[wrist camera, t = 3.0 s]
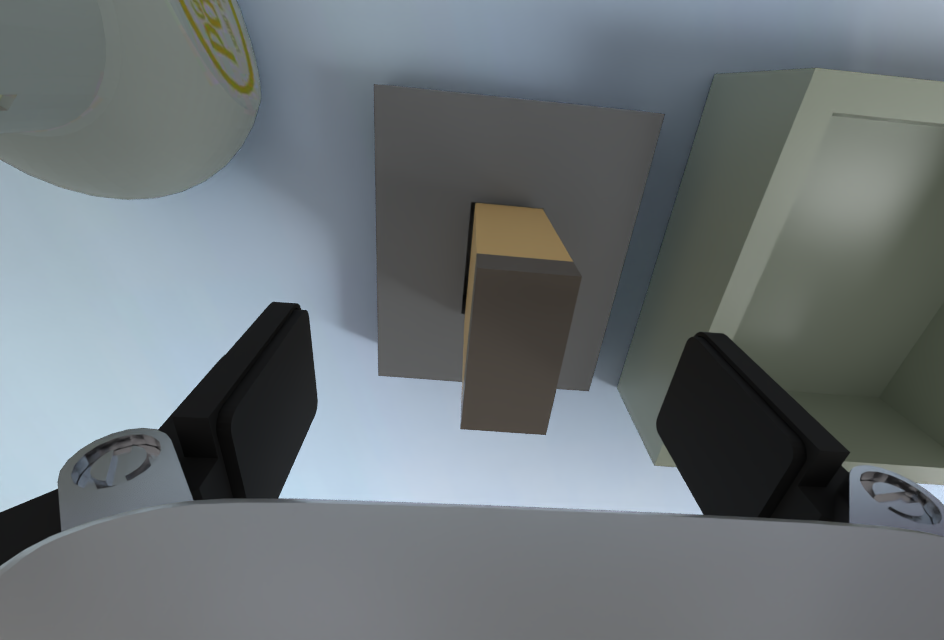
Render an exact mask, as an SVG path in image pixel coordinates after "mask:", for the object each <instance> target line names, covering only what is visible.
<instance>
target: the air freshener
mask: <svg viewBox="0 0 944 640" xmlns="http://www.w3.org/2000/svg"><path fill="white" fill-rule="evenodd" d="M260 101H261V88H260V79H259V73H258V67H257V63H256V59H255V55H254V51H253V48H252V44H251V40H250V37H249V34H248V31H247V28H246V25H245V22H244V19H243V16H242V14H241V11H240V8H239V5H238V3H237V0H0V160H2V161H4V162H6V163H7V164H9V165H11V166H13V167H15V168H17V169H19V170H20V171H22V172H24V173H26V174H28V175H31V176H33V177H36V178H38V179H41V180H43V181H46V182H48V183H51V184H53V185H56V186H58V187H61V188H64V189H68V190H72V191H76V192H80V193H84V194H88V195H92V196H97V197H106V198H115V199H127V200H131V199H148V198H159V197H163V196H167V195H171V194H175V193H179V192H183V191H185V190H187V189H190V188H192V187H194V186H196V185H198V184H200V183H202V182H204V181H206V180H208V179H209V178H210V177H212V176H213V175H214V174H216V173H217V172H218V171H219V170H221V169H222V168H223V167H225V166H226V165H227V164H228V162H229V161H230V160H231V159H232V158H233V156H234V155H235V154H236V153H237V152H238V150H239V149H240V148H241V147H242V145H243V143H244V142H245V140H246V138H247V136H248V134H249V132H250V130H251V128H252V127H253V124H254V121H255V118H256V115H257V111H258V108H259V105H260Z"/></svg>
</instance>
